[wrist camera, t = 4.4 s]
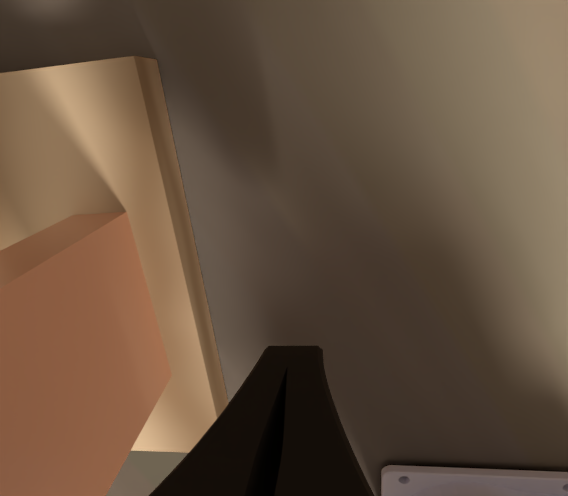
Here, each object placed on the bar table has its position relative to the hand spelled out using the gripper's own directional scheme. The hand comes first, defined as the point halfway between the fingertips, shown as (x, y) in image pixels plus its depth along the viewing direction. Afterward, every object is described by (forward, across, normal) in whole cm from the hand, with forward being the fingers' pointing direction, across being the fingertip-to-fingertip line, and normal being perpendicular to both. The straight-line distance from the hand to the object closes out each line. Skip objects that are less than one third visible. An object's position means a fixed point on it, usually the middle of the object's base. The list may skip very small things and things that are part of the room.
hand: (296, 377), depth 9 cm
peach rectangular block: (+4, +7, 0) cm, 8 cm away
